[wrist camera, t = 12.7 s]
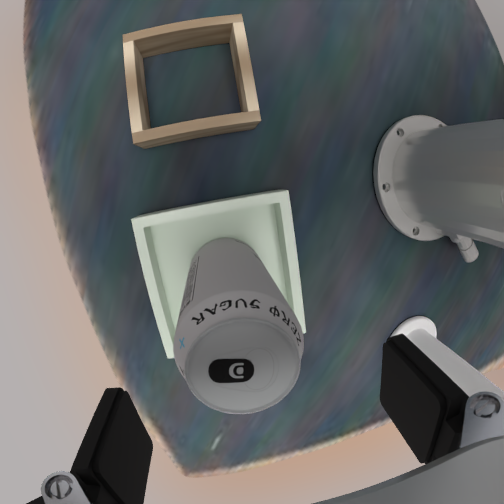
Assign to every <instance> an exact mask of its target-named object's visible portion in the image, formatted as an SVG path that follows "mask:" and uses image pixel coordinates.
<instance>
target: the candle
mask: <svg viewBox="0 0 504 504" xmlns="http://www.w3.org/2000/svg"><path fill="white" fill-rule="evenodd" d="M399 334H404V335H405V336H406V337H407V338H408V339H409V340H410V341H411V342H413V343H414V344H415V345H416V346H417V347H418V348H419V349H420V350H421V351H422V352H423V353H424V354H425V355H426V356H427V357H429V358H430V359H431V360H432V361H433V362H434V363H435V364H436V365H437V366H438V367H439V368H440V369H441V370H442V371H443V372H444V373H445V374H447V375H448V376H449V377H450V378H451V379H452V380H453V381H454V382H455V383H456V384H457V385H458V386H459V387H460V388H461V389H462V390H463V391H464V392H465V393H466V394H467V395H468V396H469V397H470V396H472V395H473V394H475V393H478V392H484V391H487V392H492V393H495V394H497V395H498V396H500V397H501V398H502V400H503V401H504V392H503V391H502V390H501V389H500V388H499V387H497V386H496V385H495V384H494V383H493V382H491V381H490V380H489V379H488V378H486V377H485V376H484V375H483V374H481V373H480V372H479V371H477V370H476V369H475V368H474V367H472V366H471V365H470V364H469V363H467V362H466V361H465V360H463V359H462V358H461V357H460V356H458V355H457V354H456V353H454V352H453V351H452V350H451V349H449V348H448V347H447V346H445V345H444V344H443V343H441V342H440V341H439V340H438V339H436V336H437V333H436V327H435V325H434V323H433V322H432V321H431V320H430V319H428V318H427V317H424V316H415V317H412V318H409V319H407V320H406V321H404V322H403V323H401V324H400V325H399V326H398V327H397V328H396V329H395V330H394V332H393V333H392V335H391V336H390V337H392V336H395V335H399Z"/></svg>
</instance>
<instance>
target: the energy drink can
mask: <svg viewBox="0 0 504 504" xmlns="http://www.w3.org/2000/svg"><path fill="white" fill-rule="evenodd" d="M303 349H304V337H303V332H302V328H301V325H300V323H299V321H298V319H297V317H296V315H295V314H294V312H293V311H292V309H291V307H290V306H289V304H288V303H287V301H286V299H285V298H284V296H283V295H282V293H281V291H280V290H279V288H278V287H277V285H276V283H275V282H274V280H273V279H272V277H271V275H270V274H269V272H268V270H267V269H266V267H265V266H264V264H263V262H262V261H261V259H260V258H259V256H258V254H257V253H256V252H255V251H254V249H253V248H251V247H250V246H249V245H248V244H246V243H244V242H243V241H240V240H237V239H234V238H219V239H216V240H212V241H210V242H208V243H206V244H205V245H204V246H202V247H201V248H200V249H199V250H198V251H197V252H196V254H195V255H194V257H193V259H192V261H191V264H190V268H189V272H188V277H187V281H186V285H185V290H184V294H183V299H182V303H181V308H180V312H179V317H178V322H177V327H176V331H175V336H174V345H173V353H174V357H175V362H176V364H177V367H178V369H179V371H180V373H181V374H182V376H183V377H184V378H185V379H186V382H187V384H188V386H189V388H190V390H191V392H192V393H193V394H194V395H195V397H196V398H197V399H199V400H200V401H201V402H202V403H203V404H205V405H207V406H209V407H210V408H212V409H215V410H218V411H220V412H225V413H230V414H248V413H254V412H258V411H262V410H264V409H267V408H269V407H271V406H273V405H275V404H276V403H278V402H279V401H281V400H282V399H283V398H284V397H285V396H286V395H287V394H288V393H289V392H290V391H291V389H292V388H293V387H294V385H295V383H296V381H297V379H298V376H299V372H300V361H301V358H302V353H303Z"/></svg>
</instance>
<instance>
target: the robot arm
mask: <svg viewBox="0 0 504 504" xmlns="http://www.w3.org/2000/svg"><path fill="white" fill-rule="evenodd" d="M373 176H374V187H375V192H376V196H377V200H378V202H379V205H380V208H381V210H382V212H383V213H384V215H385V217H386V218H387V220H388V221H389V222H390V223H391V225H392V226H393V227H394V228H395V229H396V230H398V231H399V232H400V233H402V234H403V235H406V236H408V237H410V238H413V239H416V240H420V241H431V240H436V239H439V238H441V237H443V236H445V235H446V236H449V238H450V239H451V241H452V242H454V243H457V245H458V249H459V251H460V253H461V255H462V257H463V259H464V261H465V262H472V261H474V260H475V259H476V258H477V257H478V254H479V253H478V250H477V248H476V246H475V243H474V241H473V239H474V240H478V241H481V242H484V243H488V244H491V245H494V246H497V247H501V248H504V119H498V120H489V121H481V122H473V123H465V124H458V125H451V126H447V125H445V124H444V123H443V122H441V121H440V120H438V119H436V118H433V117H431V116H425V115H414V116H410V117H406V118H403V119H401V120H399V121H397V122H396V123H395V124H393V125H392V126H391V127H390V128H389V129H388V130H387V132H386V133H385V134H384V136H383V137H382V139H381V141H380V143H379V146H378V148H377V152H376V155H375V159H374V170H373ZM383 186H384V188H383ZM380 402H381V404H382V406H383V408H384V409H385V411H386V412H387V414H388V415H389V417H390V418H391V420H392V421H393V423H394V424H395V426H396V427H397V428H398V430H399V432H400V433H401V434H402V436H403V438H404V439H405V440H406V442H407V444H408V445H409V447H410V448H411V450H412V451H413V453H414V454H415V456H416V457H417V459H418V460H419V462H420V463H425V464H426V465H423V466H421V467H419V468H416V469H414V470H412V471H410V472H407V473H404V474H402V475H400V476H397V477H395V478H392V479H389V480H387V481H384V482H382V483H379V484H376V485H373V486H371V487H368V488H365V489H362V490H359V491H356V492H352V493H350V494H346V495H343V496H339V497H336V498H332V499H329V500H325V501H321V502H317V503H313V504H504V401H503V400H502V398H501V397H500V396H498V395H497V394H495V393H492V392H487V391H484V392H478V393H475V394H473V395H472V396H470V397H469V396H468V395H467V394H466V393H465V392H464V391H463V390H462V389H461V388H460V387H459V386H458V385H457V384H456V383H455V382H454V381H453V380H452V379H451V378H450V377H449V376H448V375H447V374H445V373H444V372H443V371H442V370H441V369H440V368H439V367H438V366H437V365H436V364H435V363H434V362H433V361H432V360H431V359H430V358H429V357H427V356H426V355H425V354H424V353H423V352H422V351H421V350H420V349H419V348H418V347H417V346H416V345H415V344H414V343H413V342H411V341H410V340H409V339H408V338H407V337H406V336H405V335H404V334H399V335H395V336H392V337H389V338H388V339H387V342H386V343H384V344H383V359H382V376H381V389H380ZM152 451H153V444H152V440H151V438H150V436H149V435H148V433H147V431H146V429H145V427H144V425H143V423H142V421H141V419H140V417H139V415H138V413H137V410H136V408H135V406H134V404H133V402H132V400H131V398H130V396H129V394H128V392H127V391H124V390H123V389H122V388H107V389H106V390H105V391H104V394H103V396H102V398H101V400H100V403H99V404H98V407H97V409H96V411H95V413H94V416H93V418H92V420H91V422H90V425H89V427H88V429H87V432H86V434H85V436H84V439H83V441H82V444H81V446H80V448H79V451H78V453H77V456H76V458H75V461H74V463H73V466H72V468H71V471H70V473H69V472H65V471H61V472H56V473H52V474H51V475H49V476H48V477H47V478H46V479H45V480H44V481H43V483H42V486H41V493H42V496H41V497H39V498H37V499H35V500H33V501H31V502H29V503H27V504H143V502H144V496H145V490H146V484H147V478H148V473H149V466H150V461H151V456H152Z"/></svg>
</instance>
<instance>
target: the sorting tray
mask: <svg viewBox="0 0 504 504" xmlns="http://www.w3.org/2000/svg"><path fill="white" fill-rule="evenodd" d="M131 221H132V226H133V230H134V235H135V240H136V244H137V249H138V253H139V257H140V261H141V266H142V270H143V274H144V278H145V282H146V285H147V289H148V293H149V297H150V300H151V304H152V308H153V311H154V315H155V318H156V322H157V325H158V328H159V332H160V335H161V338H162V342H163V345H164V348H165V351H166V354H167V357H168V359H169V358H175V357H174V353H173V345H174V336H175V331H176V327H177V322H178V317H179V312H180V308H181V303H182V299H183V294H184V290H185V285H186V281H187V277H188V272H189V268H190V264H191V261H192V259H193V257H194V255H195V254H196V252H197V251H198V250H199V249H200V248H201V247H202V246H204V245H205V244H206V243H208V242H210V241H212V240H216V239H219V238H234V239H237V240H240V241H243V242H244V243H246V244H248V245H249V246H250V247H251V248H253V249H254V251H255V252H256V253H257V254H258V256H259V258H260V259H261V261H262V262H263V264H264V266H265V267H266V269H267V270H268V272H269V274H270V275H271V277H272V279H273V280H274V282H275V283H276V285H277V287H278V288H279V290H280V291H281V293H282V295H283V296H284V298H285V299H286V301H287V303H288V304H289V306H290V307H291V309H292V311H293V312H294V314H295V315H296V317H297V319H298V321H299V323H300V325H301V328H302V332H303V333H306V328H305V318H304V309H303V300H302V291H301V282H300V274H299V265H298V257H297V249H296V242H295V234H294V226H293V219H292V212H291V205H290V198H289V191H288V190H281V189H279V190H272V191H266V192H260V193H254V194H247V195H241V196H236V197H230V198H224V199H218V200H213V201H207V202H202V203H197V204H191V205H186V206H181V207H176V208H171V209H166V210H161V211H156V212H151V213H147V214H142V215H139V216H137V217H135V218H133V219H131Z"/></svg>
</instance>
